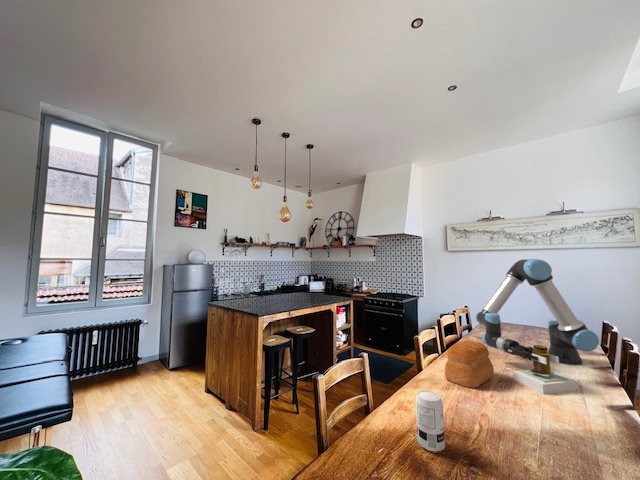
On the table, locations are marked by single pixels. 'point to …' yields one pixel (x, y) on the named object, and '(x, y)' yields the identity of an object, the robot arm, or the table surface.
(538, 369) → the condiment
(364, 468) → the table surface
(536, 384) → the riser
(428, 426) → the supplement can
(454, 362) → the bread
